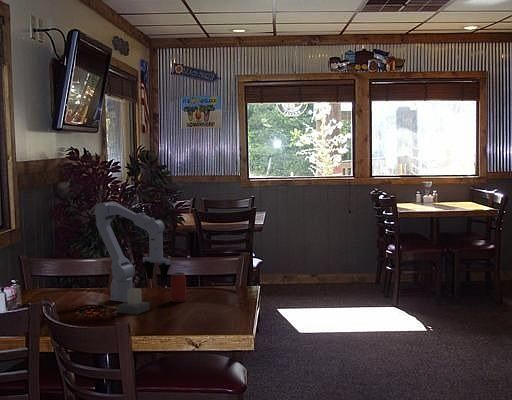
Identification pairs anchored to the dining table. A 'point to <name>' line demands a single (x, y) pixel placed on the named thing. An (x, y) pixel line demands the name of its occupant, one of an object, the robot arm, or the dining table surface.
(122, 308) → the plate
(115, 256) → the robot arm
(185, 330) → the dining table surface
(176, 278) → the beer can
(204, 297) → the dining table surface
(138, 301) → the cream block
